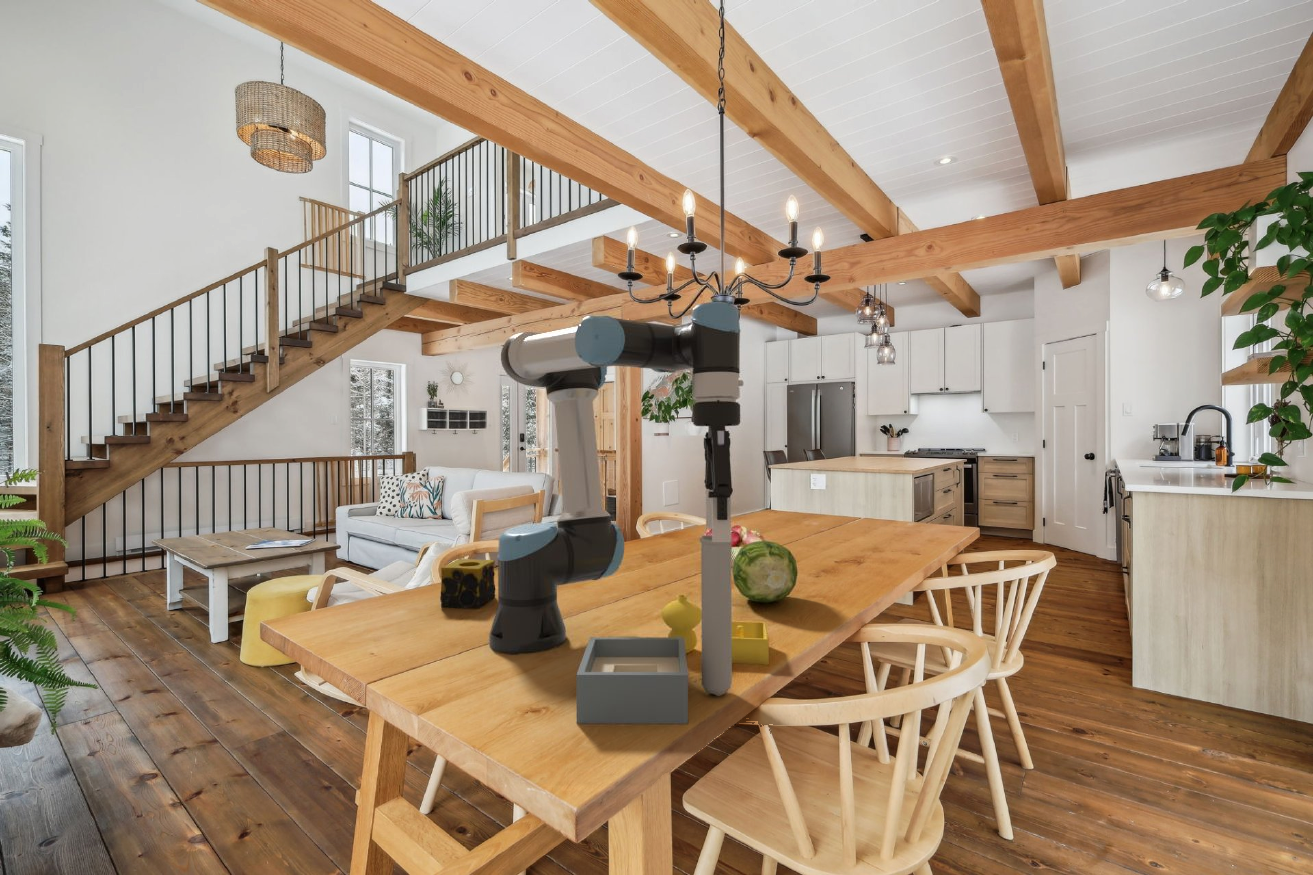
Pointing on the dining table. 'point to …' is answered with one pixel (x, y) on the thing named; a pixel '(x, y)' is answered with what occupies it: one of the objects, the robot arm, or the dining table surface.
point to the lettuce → (764, 571)
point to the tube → (716, 615)
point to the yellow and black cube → (467, 584)
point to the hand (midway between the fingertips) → (717, 534)
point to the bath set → (746, 636)
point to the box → (633, 681)
